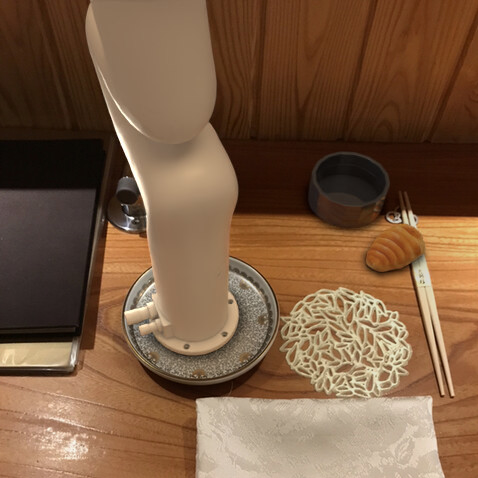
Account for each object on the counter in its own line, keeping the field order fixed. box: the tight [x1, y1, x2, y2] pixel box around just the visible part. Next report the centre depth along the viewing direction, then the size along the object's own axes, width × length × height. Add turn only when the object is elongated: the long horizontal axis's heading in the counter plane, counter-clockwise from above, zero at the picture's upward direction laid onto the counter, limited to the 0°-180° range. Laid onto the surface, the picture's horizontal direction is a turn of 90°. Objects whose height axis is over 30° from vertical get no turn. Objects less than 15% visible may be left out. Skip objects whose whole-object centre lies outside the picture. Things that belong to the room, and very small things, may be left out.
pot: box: [307, 151, 391, 229], centre depth 91 cm, size 12×12×5 cm
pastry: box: [365, 223, 427, 273], centre depth 86 cm, size 9×7×4 cm
